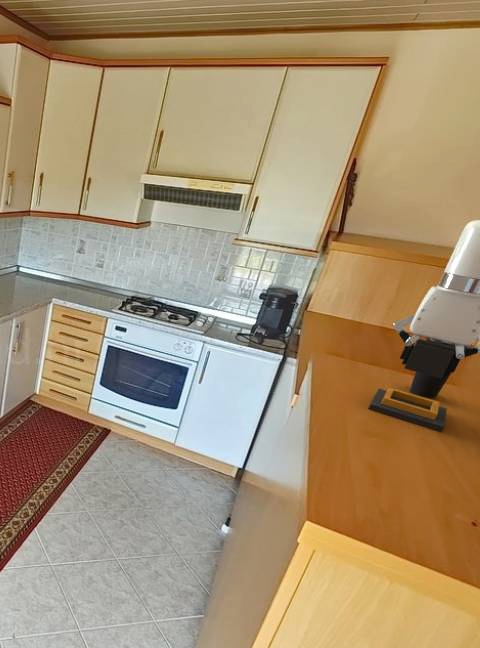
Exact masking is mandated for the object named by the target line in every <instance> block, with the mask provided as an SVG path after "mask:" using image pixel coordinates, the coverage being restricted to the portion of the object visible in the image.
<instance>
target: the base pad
mask: <svg viewBox="0 0 480 648" xmlns="http://www.w3.org/2000/svg"><path fill="white" fill-rule="evenodd" d="M368 410H370V411H373V412H377V413H379V414H383V415H386V416H389V417H391V418H392V417H393V418H395V419H399V420H402V421H405V422H407V423H412V424H415V425H418V426H422V427H425V428H427V429H430V430H432V431H437V432H440V433H442V432H443V431H444V429H445V426H446V419H447V418H446V417H447V410H448V408H447V407H443V406H440V401H437V400H434V399H431V398H427V397H423V396H419V395H416V394H414V393H409V392H406V391H402V390H399V389H395V388H392V387H388V389H387V390H386V389H383V388H378V389H377V391H376V393H375V395H374V397H373V399H372V400H371V402H370V404H369V406H368Z"/></svg>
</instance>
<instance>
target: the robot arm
mask: <svg viewBox="0 0 480 648" xmlns="http://www.w3.org/2000/svg"><path fill="white" fill-rule="evenodd" d="M464 226H465V227H464V229H463V230H462V232H461V234H460V236H459V239H458V241H457V243H456V245H455V246H454V249H453V252H452V254H451V256H450V258H449V260H448V262H447V264H446V267H445V269H444V271H443V272H442V275H441V277H440V279H439V282H438V284H437V286H435V285H433V286H431V287H430V289H429V290H428V291H427V293H426V295H425V296H424V297H423V299H422V300H421V302H420V305H419V307H418V308H417V310H416V312H415V314H412V315H410V316H407V317H405V318H403V319H400V320H398V321H397V320H396V321H395V322H394V323H393V324H392V326H393V328H394V330H395V331H396V332H397V334H398V336H399V337H400V339H401V340H402V341H403V343H404V347H403V350H402V352H401V355H400V356H399V359H400V360H402V361H401V365H404V366H405V365H406V363H407V361H408V359H409V357H410V355H411V352H412V350H413V348H414V346H415V344H416V342H417V340H418V339H422V337H425V338H426V337H429V338H433V339H437V340H442V341H446V342H450V343H455V350H456V352H455V353H454V355H453V357H452V359H451V361H450V363H449V365H448V367H447V369H446V371H445V373H444V375H445V376H447V375H448V373H449V372H452V374H454V373H455V371H456V370H457V367H458V365H459V363H460V362H461V360H463V359H464V358H467V357H471V356H474V355H477V354H479V353H480V344H477V345H475V346H471V345H473V344H474V343H475V341H477V340H478V341H479V342H480V219H477V220H476V219H475V220H471V221H470V222H468V223H467V224H466V225H464ZM409 324H410V326H409V330H410V332H411V333H412V334H411V335H410V334H409V332H408V331H407V330H406V328H405V326H407V325H409ZM464 345H470V348H468V349H465V350H464Z"/></svg>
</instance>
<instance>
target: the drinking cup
mask: <svg viewBox="0 0 480 648" xmlns="http://www.w3.org/2000/svg"><path fill="white" fill-rule="evenodd" d="M425 340H426V341H430V342H435V343H439V344H443V345H447V346H451V347H455V343H450V342H446V341H442V340H437V339H433V338H429V337H425ZM468 348H471V345H464V350H465V349H468ZM455 352H456V350H455V351H454V353H455ZM452 374H453V372H449V373H448V375H447V376H445V375H443V377H442V379H440V378H437V377H433V376H430V375H426V374H422V373H419V372H415V373H414V376H413V380H412V382H411V385H410V387H409V392H410V393H411V394H413V395H416V396H420V397H423V398H427V399H436V398H437V396H438V395H439V393H440V392H441V390H442V389H443V387H444V385H445V384H446V382H447V381H448V379H450V376H451V375H452Z"/></svg>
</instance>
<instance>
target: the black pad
mask: <svg viewBox="0 0 480 648" xmlns="http://www.w3.org/2000/svg"><path fill="white" fill-rule="evenodd" d="M454 351H455V347H451V346H447V345H443V344H439V343H435V342H430V341H426V339H422V338H419V339H418V340H417V341H416V342H415V344H414V348H413V350H412V352H411V355H410V357H409V359H408V361H407V363H406V364H405V365H404V368H403V369H405V370H408V371H411V372H415V373H416V372H419V373H422V374H426V375H430V376H433V377H437V378H440V379H442V377H443V375H444V373H445V371H446V369H447V367H448V365H449V363H450V361H451V359H452V357H453V355H454Z"/></svg>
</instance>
